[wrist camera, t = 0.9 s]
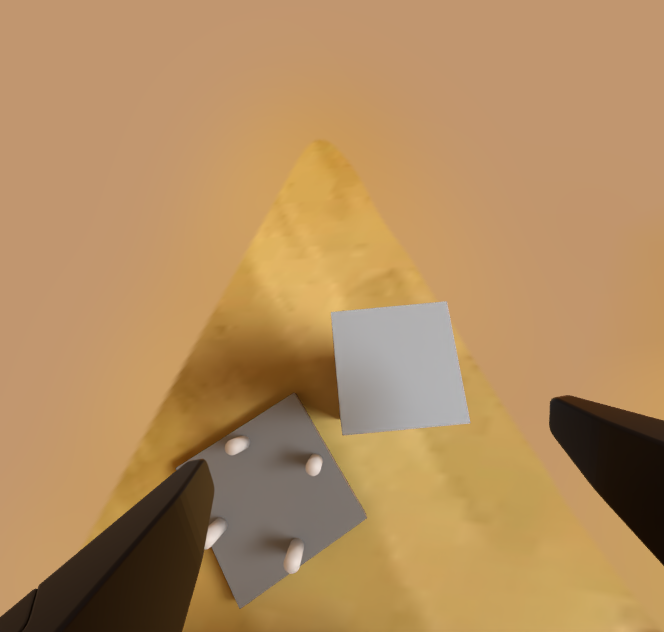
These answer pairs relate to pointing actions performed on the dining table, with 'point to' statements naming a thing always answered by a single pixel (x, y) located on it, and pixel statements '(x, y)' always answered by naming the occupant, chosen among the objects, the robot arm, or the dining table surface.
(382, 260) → the dining table surface
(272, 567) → the plate
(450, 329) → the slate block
